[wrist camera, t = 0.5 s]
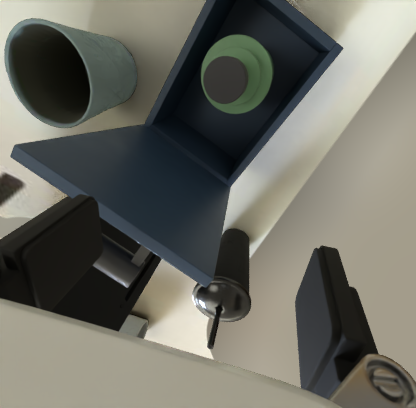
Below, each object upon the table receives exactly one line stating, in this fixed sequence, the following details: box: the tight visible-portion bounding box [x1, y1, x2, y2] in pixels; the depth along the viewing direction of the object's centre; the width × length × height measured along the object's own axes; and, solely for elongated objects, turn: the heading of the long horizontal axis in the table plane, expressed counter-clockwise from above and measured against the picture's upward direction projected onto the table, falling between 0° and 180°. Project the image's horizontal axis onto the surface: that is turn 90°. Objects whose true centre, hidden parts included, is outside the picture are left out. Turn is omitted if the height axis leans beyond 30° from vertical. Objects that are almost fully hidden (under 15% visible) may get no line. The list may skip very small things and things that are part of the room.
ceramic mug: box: [119, 314, 148, 339], centre depth 61 cm, size 11×8×8 cm
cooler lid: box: [11, 124, 231, 288], centre depth 24 cm, size 18×13×5 cm
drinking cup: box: [193, 229, 251, 349], centre depth 37 cm, size 8×8×20 cm
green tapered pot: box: [4, 18, 137, 128], centre depth 32 cm, size 10×10×12 cm
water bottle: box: [201, 35, 274, 114], centre depth 26 cm, size 6×6×17 cm
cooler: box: [144, 0, 343, 187], centre depth 31 cm, size 18×13×8 cm
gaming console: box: [0, 197, 162, 332], centre depth 37 cm, size 15×15×30 cm
